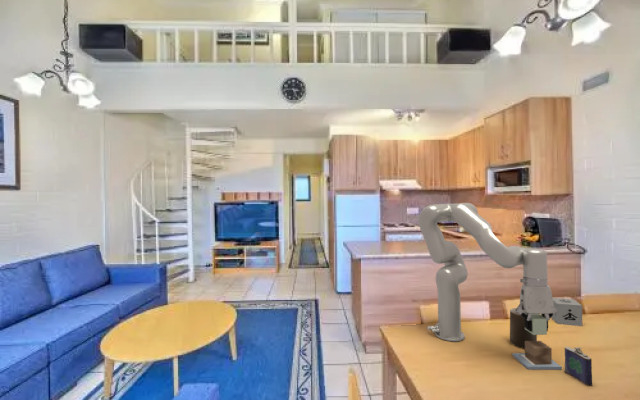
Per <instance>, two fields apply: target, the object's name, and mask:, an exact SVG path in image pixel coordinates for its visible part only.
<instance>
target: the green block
mask: <svg viewBox="0 0 640 400" xmlns="http://www.w3.org/2000/svg"><path fill="white" fill-rule="evenodd" d="M530 320H531V321H532V331H529V330H527V329H526V328H525V329H526V330H527V331H528V332H530V333H531V334H533V335H537V336H543V335H545V336H546V335H548V331H547V319H546V318H545V317H543V316H542V315H541V314H532V316H531V319H530Z"/></svg>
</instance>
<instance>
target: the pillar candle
mask: <svg viewBox="0 0 640 400" xmlns="http://www.w3.org/2000/svg"><path fill="white" fill-rule="evenodd" d="M516 308H517V307H516ZM516 308H510V310H509V343H511V344H512V345H513V346H515V347H517V348H521V349H524V350H525V341H538V340H537V339H538V335H533V334H531V333H530V332H528V331H527V330H526V329H525V319H524V318H523V317H522V316H521V315H520V314H519V313H518V312H516V311H515V309H516ZM522 312H523V313H524V310H522Z"/></svg>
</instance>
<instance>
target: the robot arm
mask: <svg viewBox="0 0 640 400" xmlns="http://www.w3.org/2000/svg"><path fill="white" fill-rule="evenodd" d="M442 222H455V223H457V225H459V226H460V227H461V228H462V229H463V230H465V231H466V232H467V233H468V234H469V235H470V236H471V237H472V238H473V239H474V240H475V241H476V243H477V244H478V246H479V247H480V249H481V250H482V251H483V252H484V253H485V254H486V255H487V256H488V257H489V258H490V259H491V260H492V261H493V262H494V263H496V264H497V265H499V266H500V267H502V268H504V269H513V268H515V267H517V266H521V265H522V267H523V269H522V271H523V274H522V278H520V280H519V281H520V283H523V284H521V287H520V291H519V292H520V295H519V304H518V305H517V307H516V309H515V311H516V312H518V313H519V314H520V315H521V316H522V317H523V318H524V319H525V328H526V329H527V330H529V331H532V321H531V320H530V319H531V316H532V314H540V315H541V316H543V317H545V318H546V319H547V332H548V331H549V321H550V320H551V319H552V318H551V317H552V316H553V314H554V313H556V312H557V310H556V308H555V307H554V305H553V298H554V297H553V292H552V289H551V286H550V285H548V254H547V251H546V250H544V249H541V248H534V247H533V248H530V247H529V248H527V247H521V246H518V245H510V246H506V245H505V244H504V243H503V242H502V241H500V239H498V238H497V237H496V235H495V234H494V232H493V227H492V225H491V223H489V222H488V221H487V220H486V219H485V218H483V217H482V216H481V215H480V214H479V213H478V209H477V207H476V205H474V204H473V203H471V202H459V203H439V204H438V203H436V204H430V205H428V206H426V207H424V208H423V209H422V210H421V211H420V213H419V215H418V226H419V229H420V232H421V234H422V236H423V239H424V242H425V245H426V248H427V250H428V253H429V255H430V258H431V260H432V261H433V262H434V263H435V264H439V265H440V264H443V266H441V267H440V268H439V269H438V270H437V271H436V273H435V283H436V289H437V319H438V320H437V322H435V324H434V325H427V327H426V328H427V330H428V331H431V332H432V333H434V335H435V336H436V337H437V338H438V339H441V340H443V341H447V342H461V341H463V340H465V336H466V335H465V333H464V332H463V331H462V330H461V329H462V324H461V323H462V322H461V321H462V319H461V317H462V316H461V315H462V314H461V311H462V310H461V307H462V306H461V294H460V289H459V285H460V284H462V283H464V282H465V281H466V280H467V278H468V275H469V274H468V270H467V266H466V264H465V262H464V261H465V260H464V259H463V256H462V254H461V251H460V248H459V247H458V245H456V243H455V242H452V241H449V240H446V239H445V237H444V234H443V232H442V230H441V228H440V227H439V225H438V223H442ZM522 310H524V313H523V312H522Z"/></svg>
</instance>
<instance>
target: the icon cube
mask: <svg viewBox="0 0 640 400" xmlns="http://www.w3.org/2000/svg"><path fill="white" fill-rule="evenodd" d="M553 305H554V307H555V308H556V310H557V312H556V313H554V314H553V316H552V317H551V318H550V319H552V320H553V322H554V323H556V324H557V325H562V324H563V325H565V326H575V327H583V305H582V304H580V303H579V301H577V300H575V299H574V298H567V297H566V298H562V297H553Z"/></svg>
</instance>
